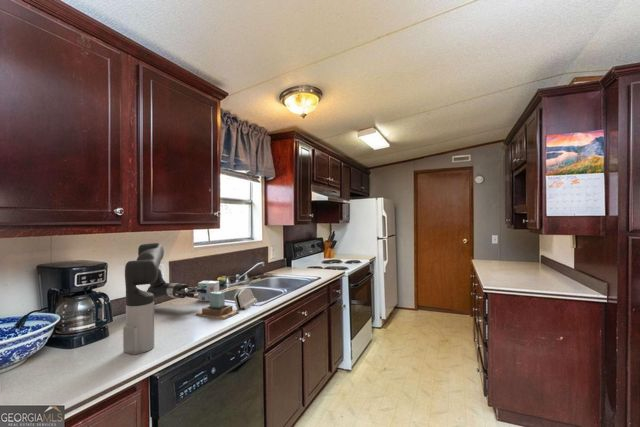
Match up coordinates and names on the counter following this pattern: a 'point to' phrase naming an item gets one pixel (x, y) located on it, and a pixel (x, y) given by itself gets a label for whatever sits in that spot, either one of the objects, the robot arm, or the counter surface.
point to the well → (218, 312)
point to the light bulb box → (210, 287)
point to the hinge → (244, 299)
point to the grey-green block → (217, 300)
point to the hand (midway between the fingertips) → (200, 292)
